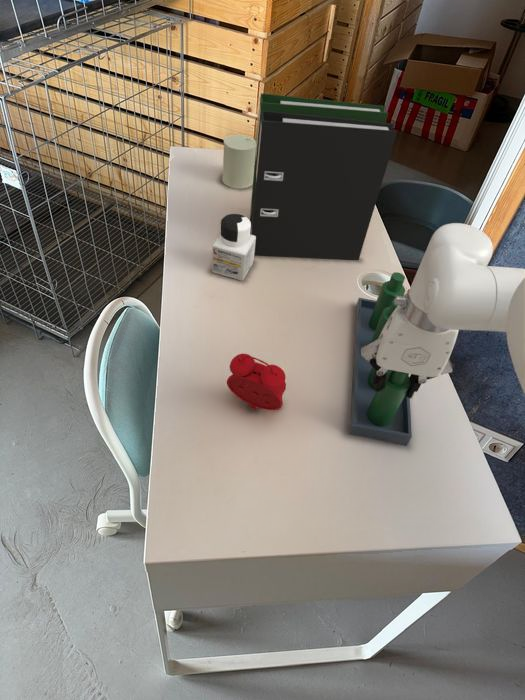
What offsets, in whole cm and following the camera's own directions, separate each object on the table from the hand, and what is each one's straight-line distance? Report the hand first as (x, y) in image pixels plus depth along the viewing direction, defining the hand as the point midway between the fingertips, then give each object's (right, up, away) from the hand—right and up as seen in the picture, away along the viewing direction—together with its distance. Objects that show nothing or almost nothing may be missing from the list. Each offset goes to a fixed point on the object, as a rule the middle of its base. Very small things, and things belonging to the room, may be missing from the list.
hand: (393, 387), depth 81 cm
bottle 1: (+1, 0, +12) cm, 12 cm away
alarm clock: (-23, -4, +6) cm, 25 cm away
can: (-29, +56, +60) cm, 87 cm away
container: (-29, +26, +32) cm, 50 cm away
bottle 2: (+3, +12, +22) cm, 25 cm away
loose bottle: (-1, -6, +6) cm, 8 cm away
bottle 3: (+2, +6, +17) cm, 18 cm away
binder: (-12, +34, +42) cm, 55 cm away
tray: (+1, +3, +15) cm, 16 cm away
